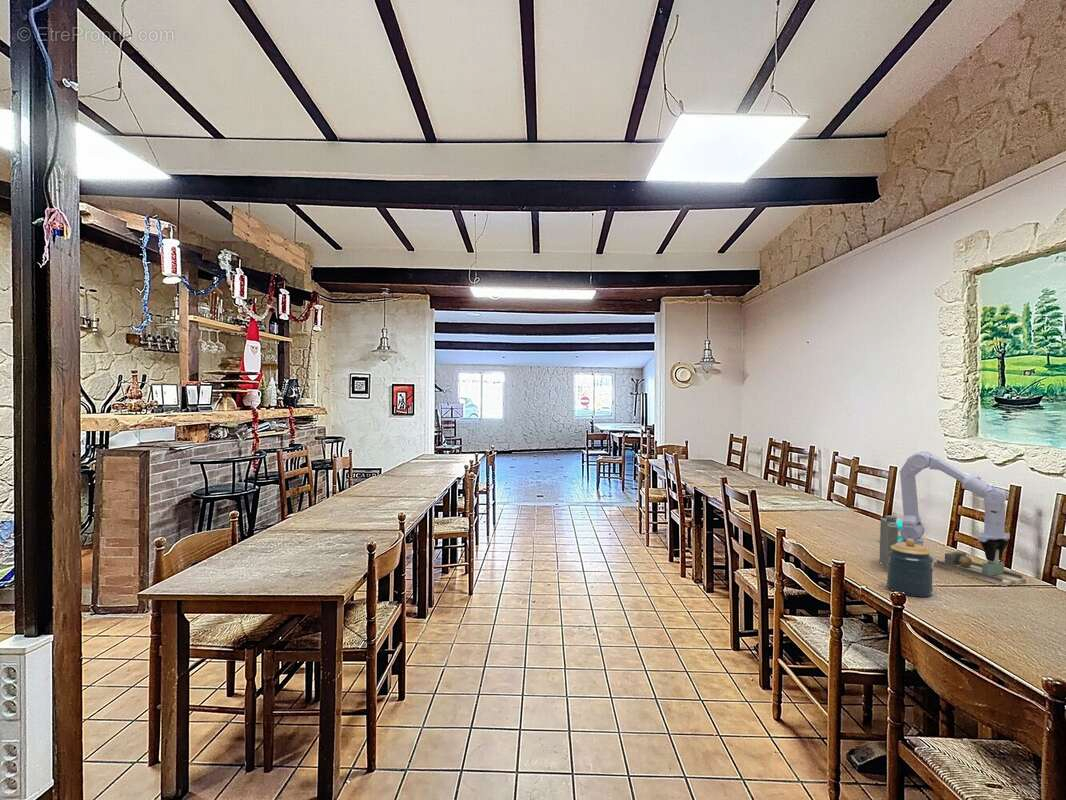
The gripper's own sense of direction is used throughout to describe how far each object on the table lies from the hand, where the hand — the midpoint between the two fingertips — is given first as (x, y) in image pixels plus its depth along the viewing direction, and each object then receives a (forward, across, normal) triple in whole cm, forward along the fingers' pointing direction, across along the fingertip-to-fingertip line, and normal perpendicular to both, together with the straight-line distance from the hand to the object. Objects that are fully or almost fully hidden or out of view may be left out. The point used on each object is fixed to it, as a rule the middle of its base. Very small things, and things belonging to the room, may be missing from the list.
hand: (993, 559), depth 205 cm
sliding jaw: (+5, 0, 0) cm, 5 cm away
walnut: (+3, 0, +9) cm, 10 cm away
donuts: (+7, +10, +45) cm, 47 cm away
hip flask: (+7, -25, +21) cm, 33 cm away
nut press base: (+7, 0, +5) cm, 9 cm away
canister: (+7, -42, +1) cm, 43 cm away
